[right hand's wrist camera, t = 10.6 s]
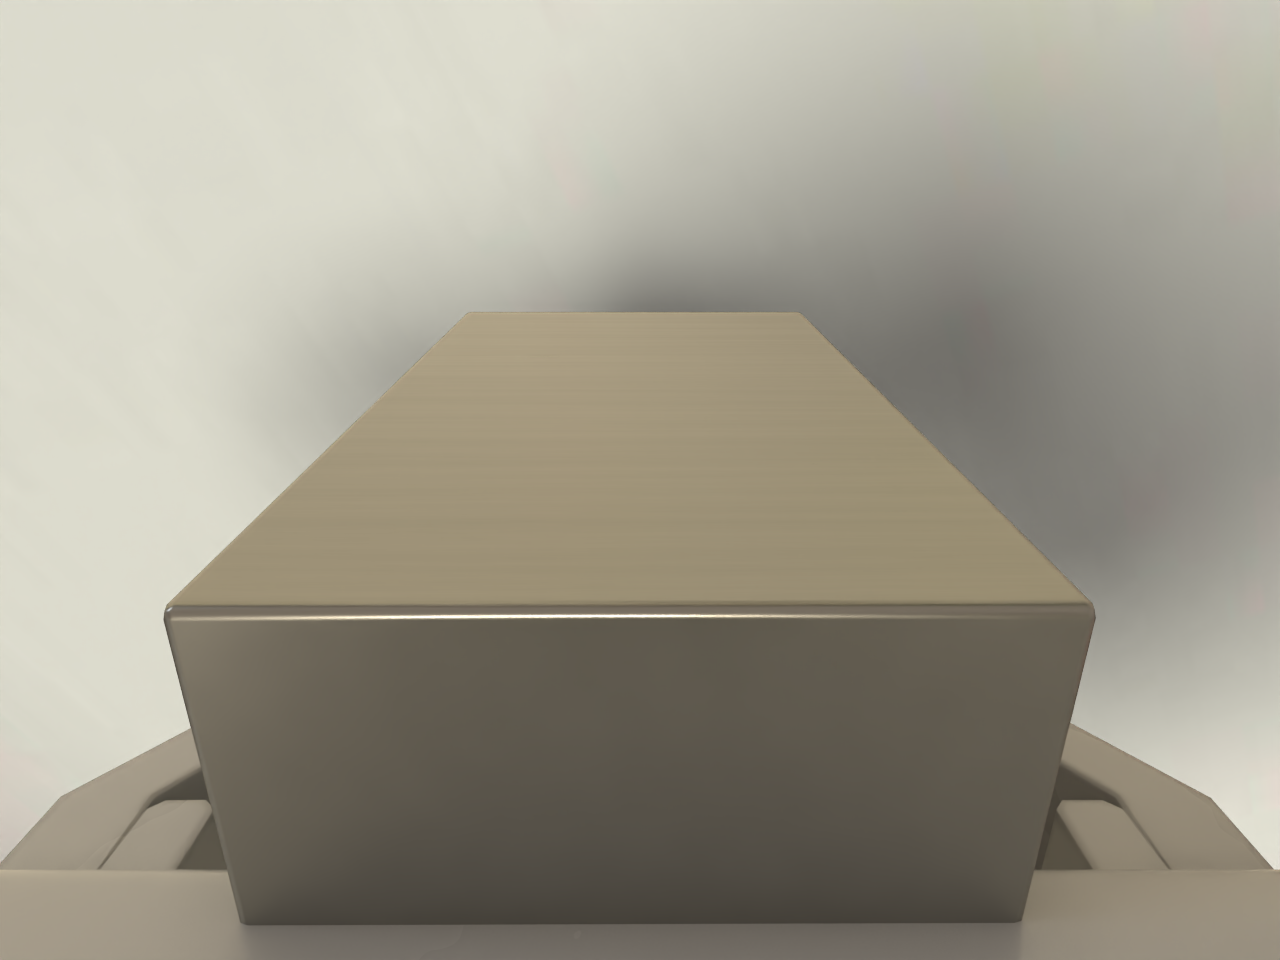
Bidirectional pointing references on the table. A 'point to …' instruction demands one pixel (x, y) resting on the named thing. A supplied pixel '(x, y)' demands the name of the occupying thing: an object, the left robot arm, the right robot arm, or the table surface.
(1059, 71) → the table surface
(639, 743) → the bar
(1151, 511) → the table surface
